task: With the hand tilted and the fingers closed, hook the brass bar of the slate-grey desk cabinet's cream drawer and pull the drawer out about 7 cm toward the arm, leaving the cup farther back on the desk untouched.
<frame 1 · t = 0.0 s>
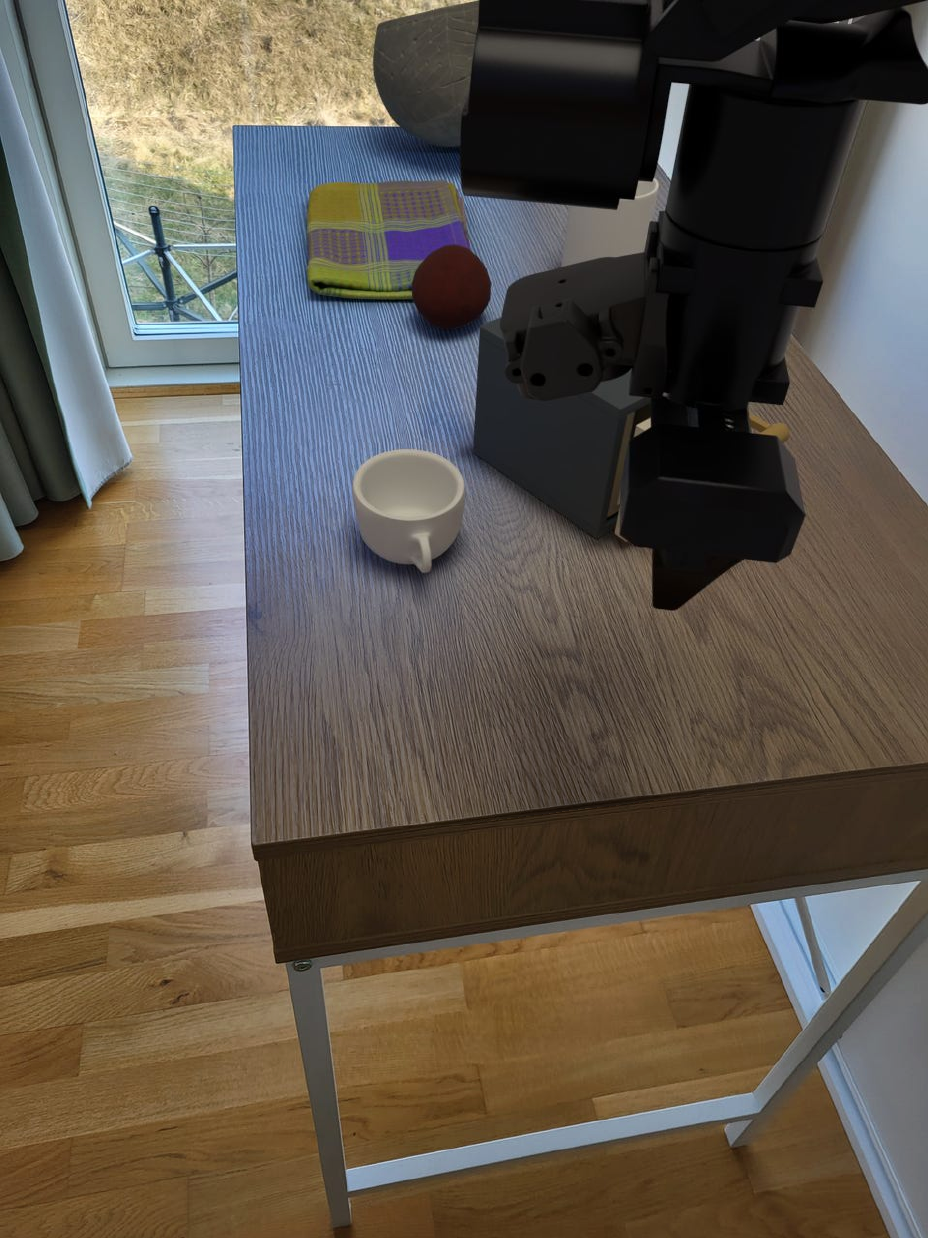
hand: (662, 540, 46), 15 cm above the table, tool pointing down, fingers open, 9 cm apart
teacup: (412, 554, 68), on the table
dish towel: (388, 249, 101), on the table
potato: (449, 324, 91), on the table
drawer: (650, 434, 69), point 6 cm above the table, slide at 1.0 cm
bowl: (474, 147, 118), point 1 cm above the table
cabinet: (588, 463, 76), on the table
cup: (610, 277, 99), on the table
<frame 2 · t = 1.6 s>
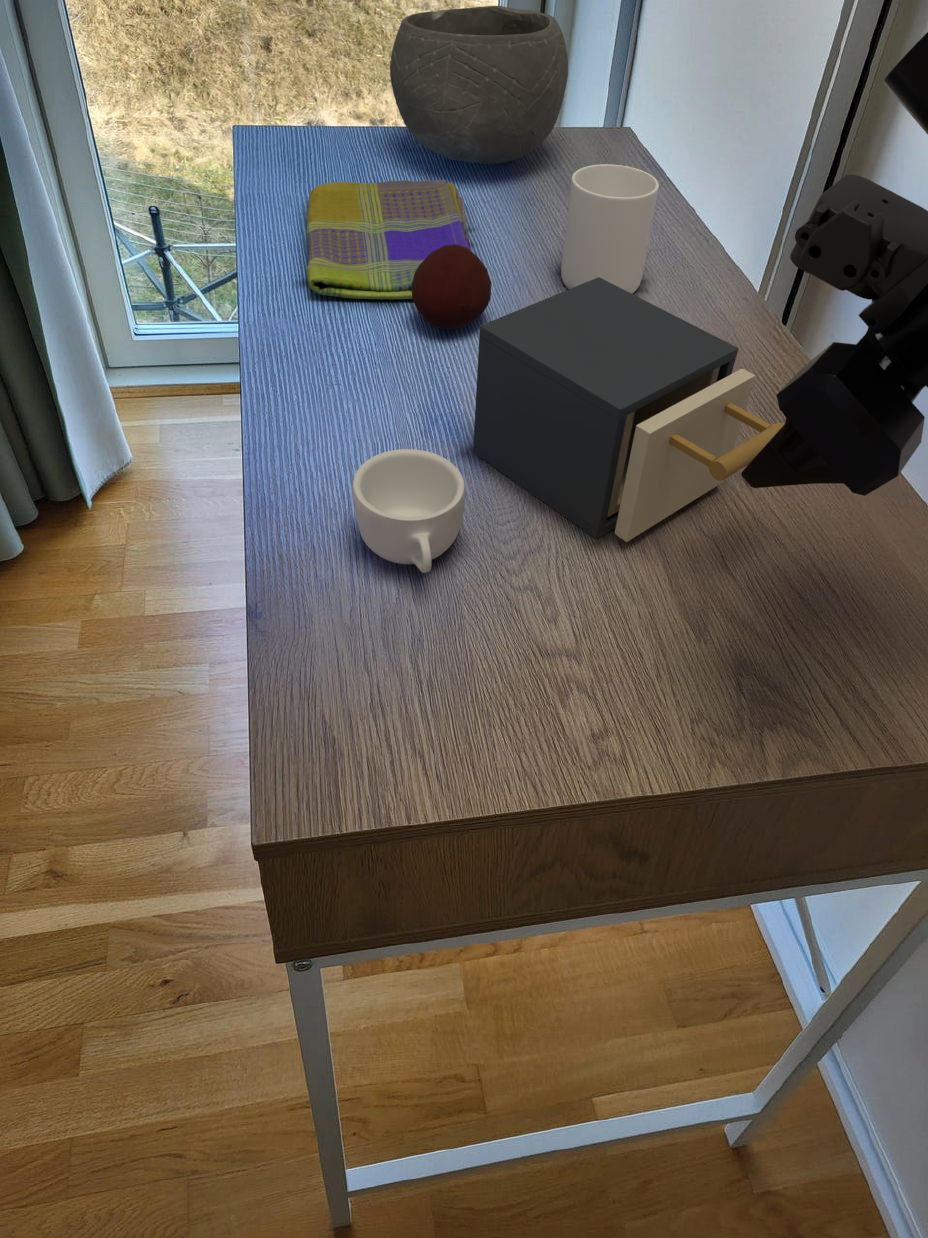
hand: (780, 441, 54), 14 cm above the table, tool tilted 30°, fingers open, 9 cm apart
bowl: (477, 159, 119), on the table
everything else where it was.
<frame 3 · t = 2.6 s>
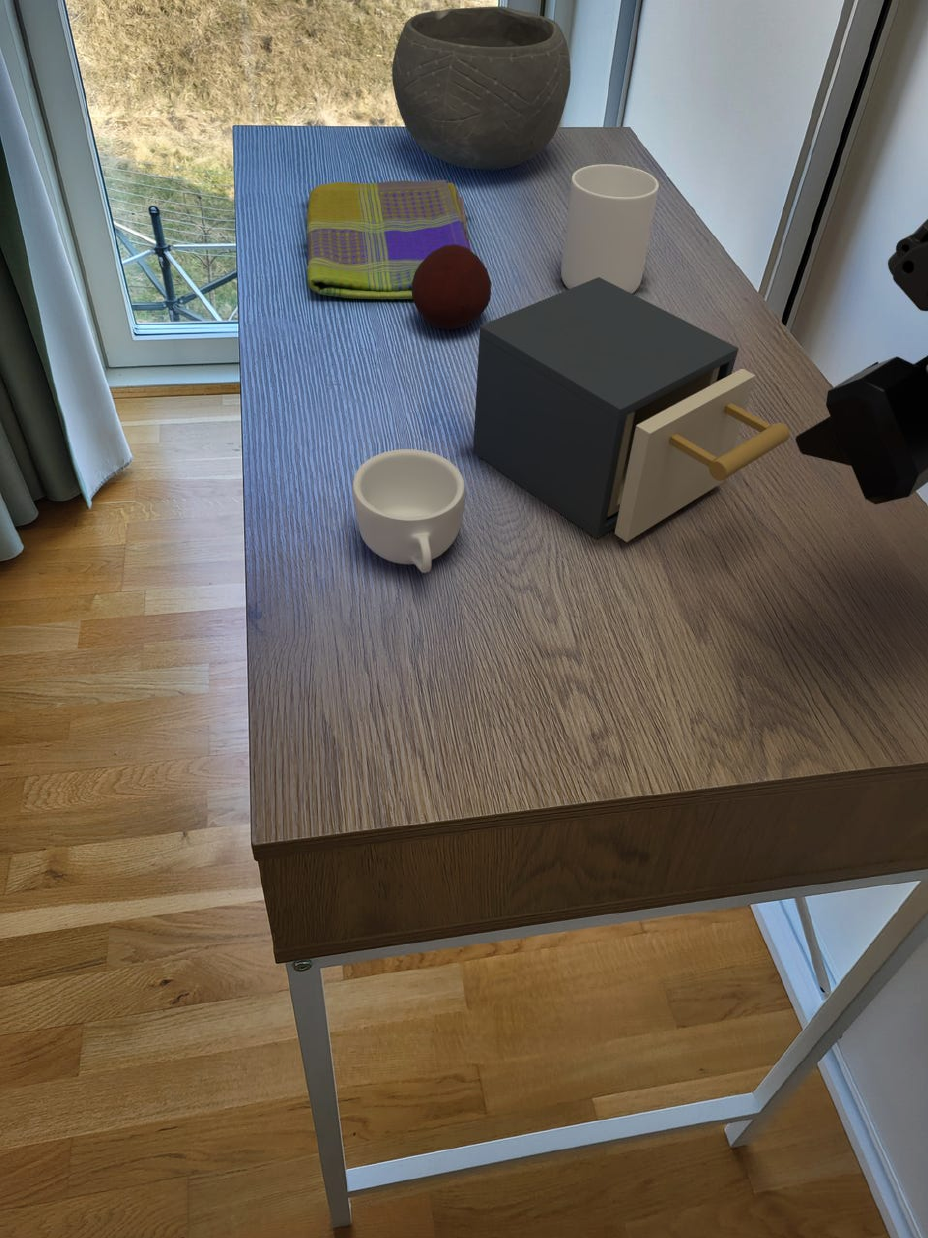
hand: (828, 426, 57), 13 cm above the table, tool tilted 45°, fingers open, 6 cm apart
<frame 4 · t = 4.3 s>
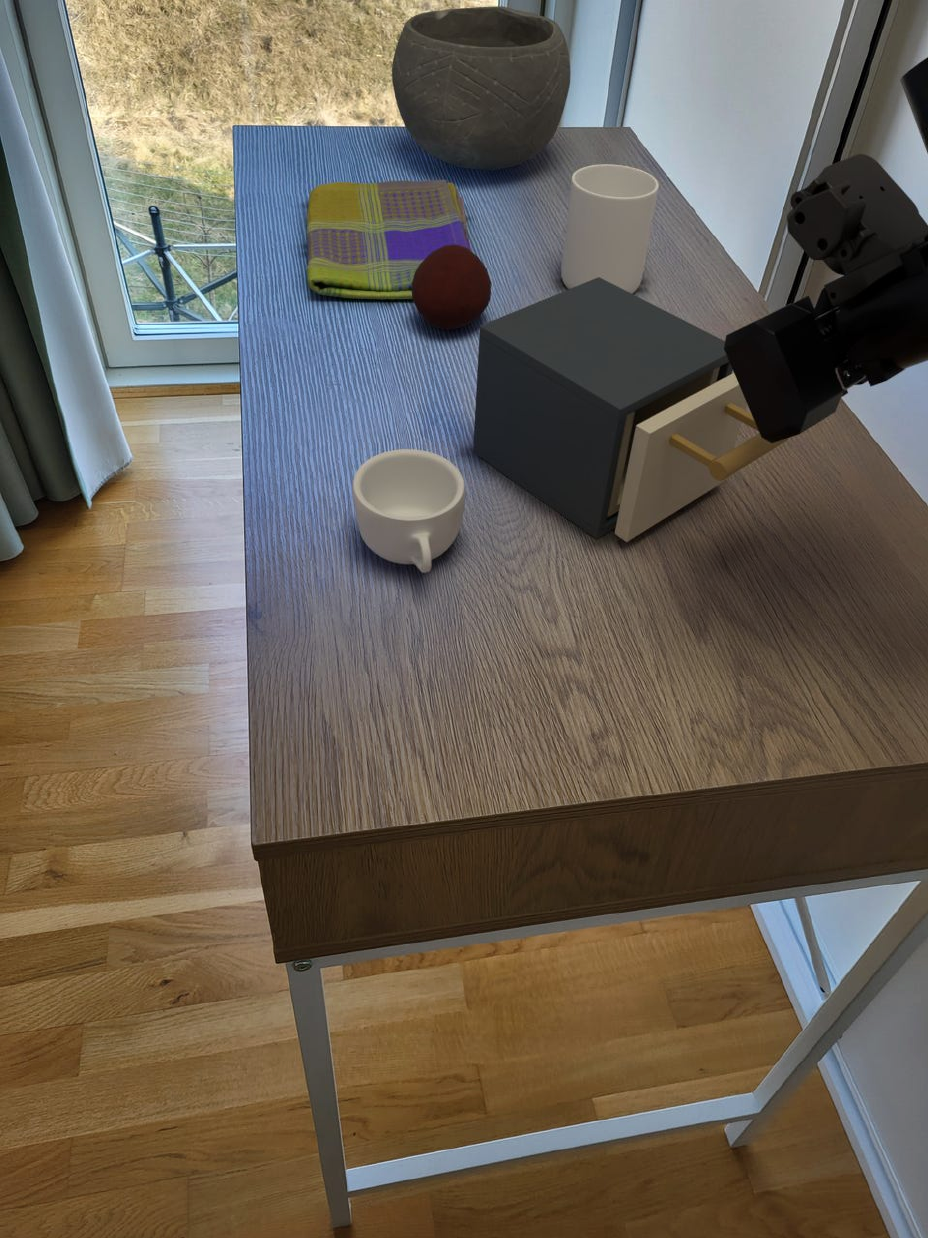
hand: (744, 378, 60), 13 cm above the table, tool tilted 45°, fingers closed
nothing on the table moved.
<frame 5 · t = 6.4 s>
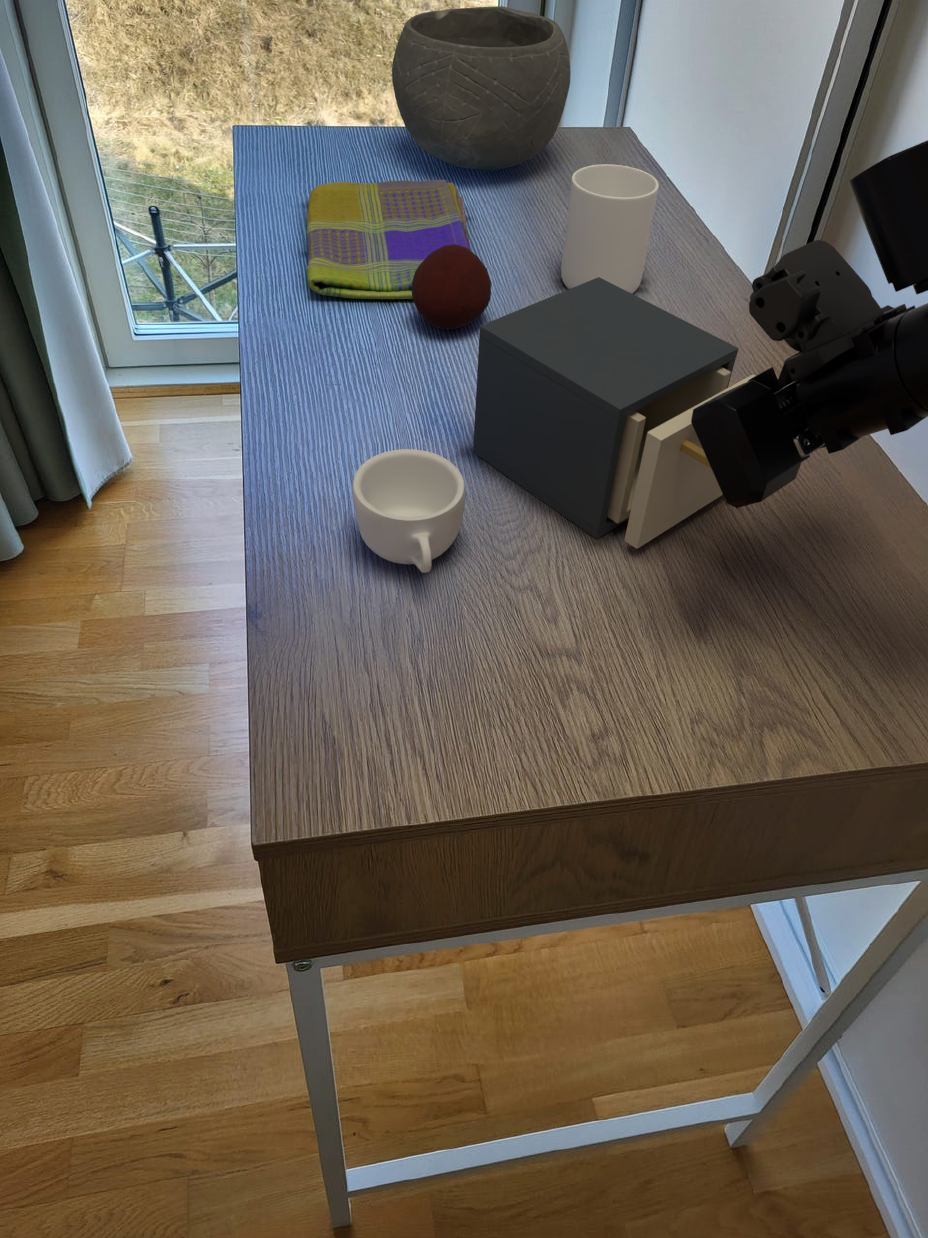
hand: (716, 437, 64), 8 cm above the table, tool tilted 45°, fingers closed, pressing on drawer
drawer: (660, 440, 69), point 6 cm above the table, slide at 2.0 cm, touching gripper
everything else where it was.
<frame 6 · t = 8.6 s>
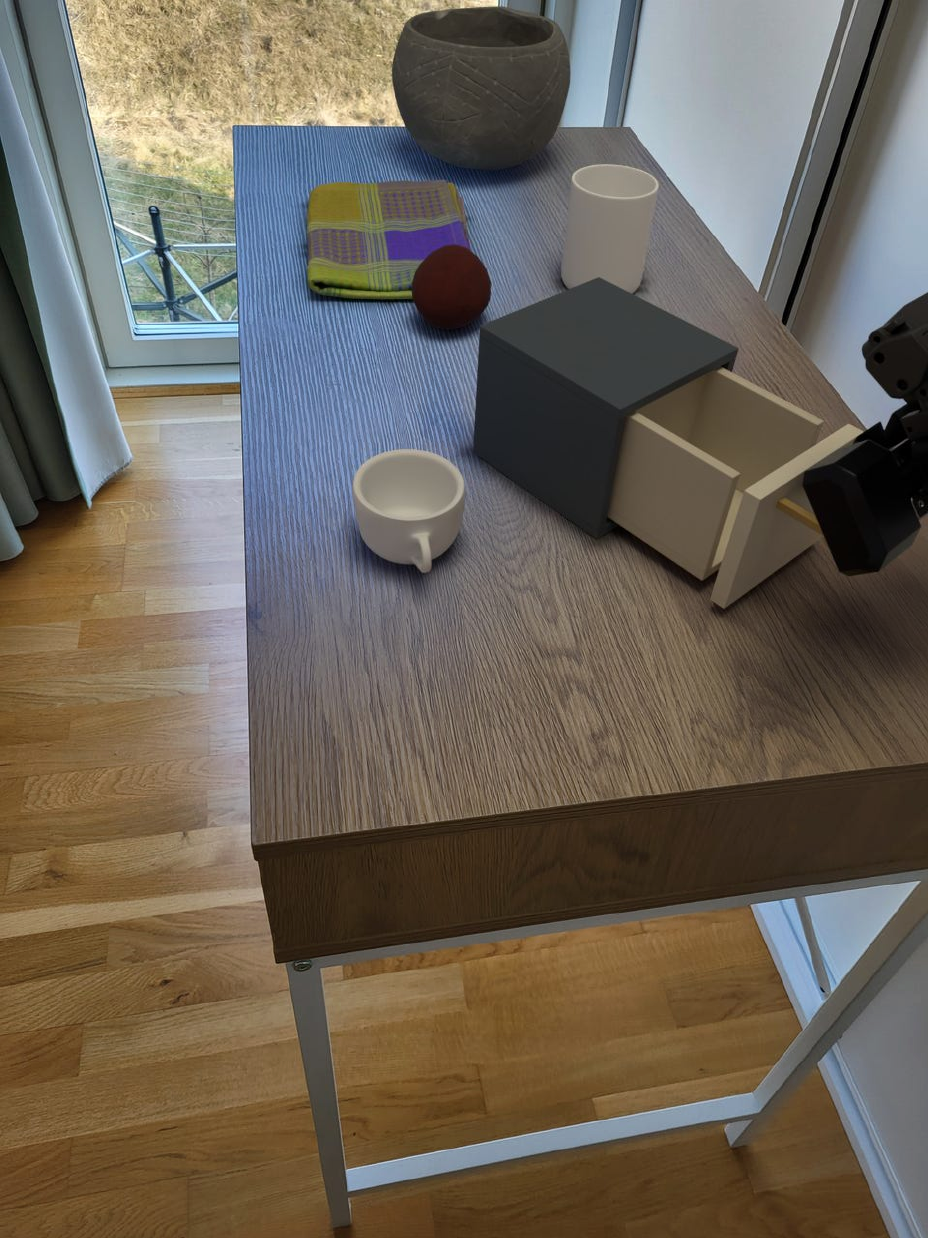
hand: (809, 489, 61), 8 cm above the table, tool tilted 45°, fingers closed, pressing on drawer
drawer: (746, 493, 65), point 6 cm above the table, slide at 9.7 cm, touching gripper
everything else where it was.
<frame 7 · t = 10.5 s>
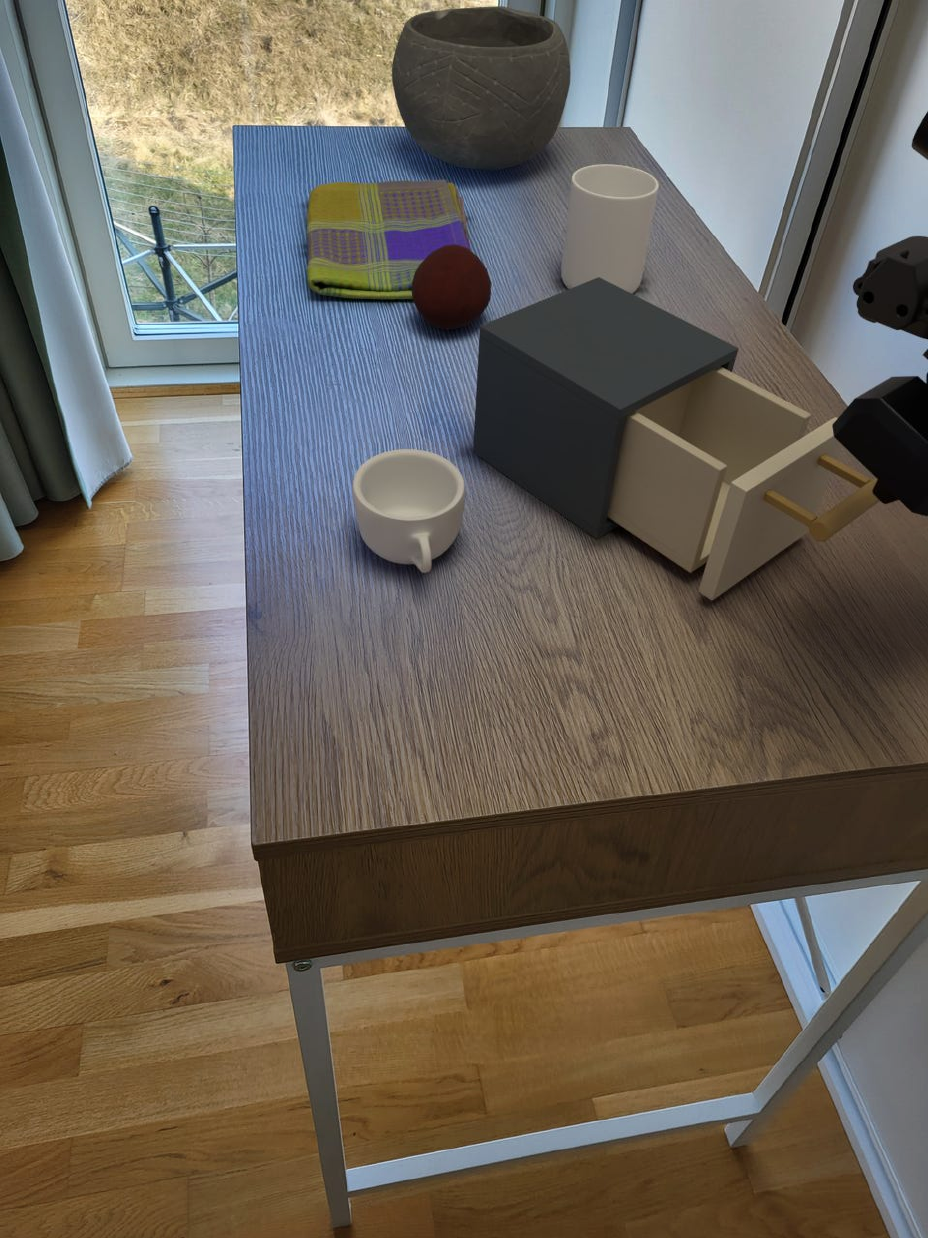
hand: (880, 496, 55), 11 cm above the table, tool tilted 20°, fingers closed
drawer: (734, 486, 65), point 6 cm above the table, slide at 8.7 cm
everything else where it was.
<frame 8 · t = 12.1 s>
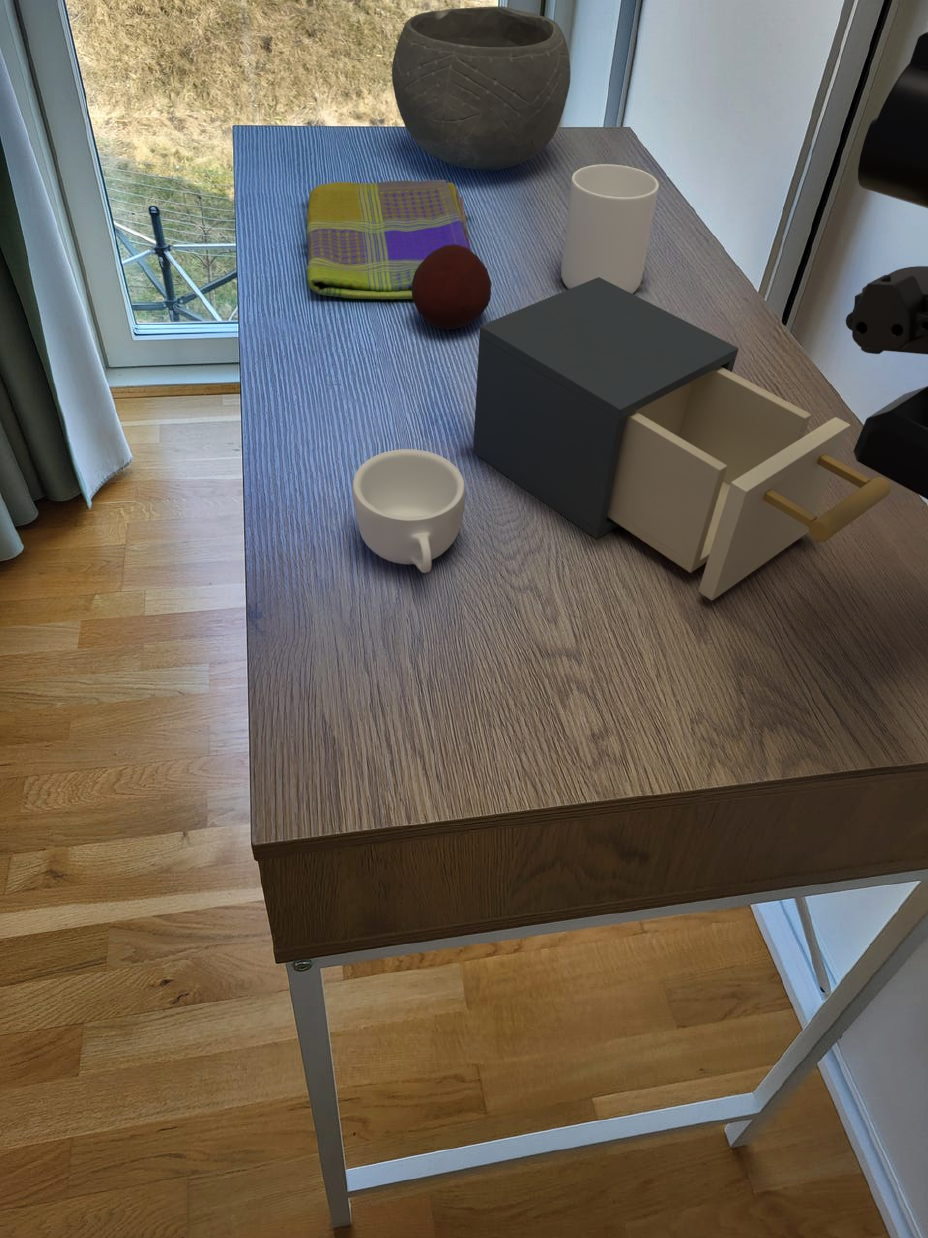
nothing on the table moved.
at the end: drawer slide at 8.7 cm; cup moved 0.2 cm from its start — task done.
